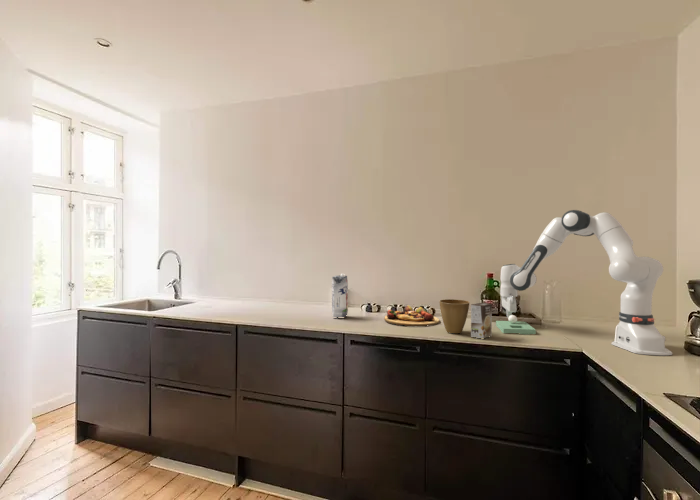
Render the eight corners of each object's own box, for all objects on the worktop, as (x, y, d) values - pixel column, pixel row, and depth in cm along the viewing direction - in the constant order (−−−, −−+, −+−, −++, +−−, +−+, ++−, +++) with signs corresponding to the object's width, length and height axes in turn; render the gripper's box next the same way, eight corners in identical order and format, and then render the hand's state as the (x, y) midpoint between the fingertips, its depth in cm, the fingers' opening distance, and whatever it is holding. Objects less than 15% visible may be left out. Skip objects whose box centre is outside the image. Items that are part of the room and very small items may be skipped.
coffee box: (483, 340, 182) (483, 305, 182) (470, 337, 187) (470, 304, 187) (492, 336, 189) (492, 303, 188) (479, 334, 193) (479, 302, 193)
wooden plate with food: (385, 327, 212) (385, 312, 212) (383, 315, 244) (383, 302, 244) (444, 328, 211) (444, 313, 211) (434, 317, 243) (434, 303, 242)
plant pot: (437, 334, 193) (437, 302, 193) (441, 328, 207) (441, 298, 207) (468, 336, 188) (468, 304, 188) (470, 330, 202) (470, 299, 202)
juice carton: (331, 318, 236) (330, 274, 235) (334, 315, 246) (334, 273, 246) (345, 319, 234) (345, 274, 234) (348, 315, 245) (348, 273, 244)
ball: (518, 324, 205) (518, 315, 205) (509, 323, 206) (509, 315, 206) (516, 322, 209) (516, 314, 209) (507, 322, 210) (507, 314, 210)
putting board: (535, 334, 192) (535, 329, 192) (503, 333, 195) (503, 328, 195) (524, 326, 212) (524, 321, 212) (495, 325, 214) (495, 320, 214)
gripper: (519, 295, 206) (519, 321, 206) (510, 290, 226) (510, 314, 226) (506, 295, 207) (507, 321, 207) (499, 290, 227) (499, 314, 227)
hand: (508, 317), depth 217 cm, fingers closed
